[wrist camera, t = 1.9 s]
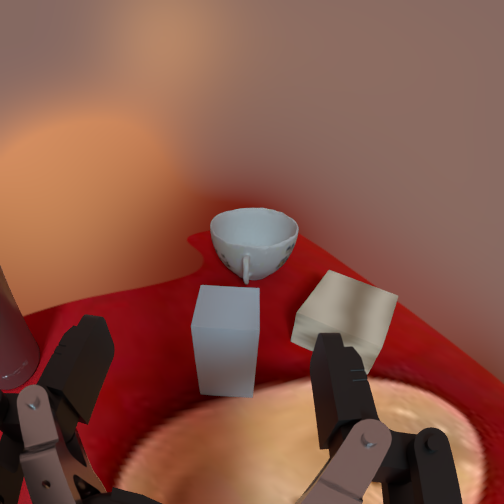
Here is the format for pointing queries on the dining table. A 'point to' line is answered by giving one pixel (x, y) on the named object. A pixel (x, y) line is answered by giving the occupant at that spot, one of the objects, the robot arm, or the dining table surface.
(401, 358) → the dining table surface
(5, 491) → the robot arm
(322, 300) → the birch block
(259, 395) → the dining table surface
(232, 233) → the teacup
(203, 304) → the pale blue tall cuboid
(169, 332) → the dining table surface
